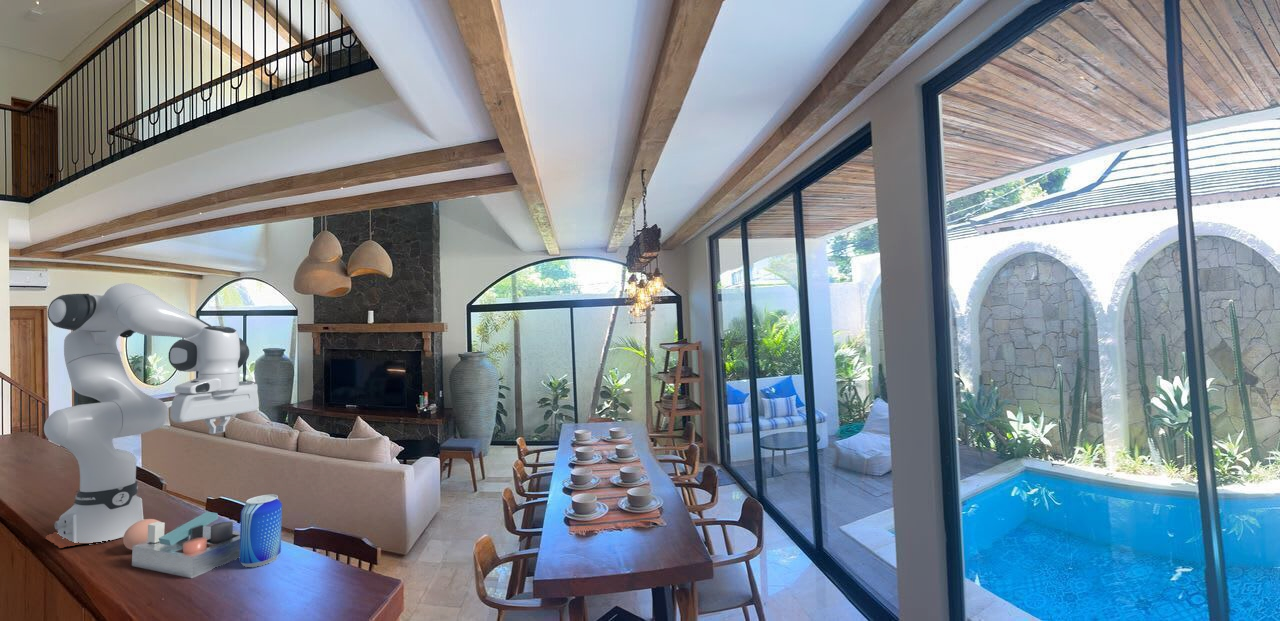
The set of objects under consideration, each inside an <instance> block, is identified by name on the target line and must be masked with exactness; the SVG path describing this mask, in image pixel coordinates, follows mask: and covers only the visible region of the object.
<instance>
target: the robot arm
mask: <svg viewBox="0 0 1280 621" xmlns="http://www.w3.org/2000/svg"><path fill="white" fill-rule="evenodd" d="M47 318H48V320H49V321H50V324H52V325H53V326H54V327H56V328H59V329H65V330H70V331H71V332H69V333H68V334H67V335H66V336H65V338H64V342H63V355H64V356H63V358H64V362H65V367H66V370H67V374H68V377H69V380H70V383H71V388H72V389H73V390H74V391H75V393H77V394H79V395H81V396H85V397H89V398H92V399H94V400H97V401H98V402H94V403H92V402H91V403H85V404H84V403H83V404H77V405H73V406H69V407H64V408H61V409H57V410H55V411H53V412H52V413H50V415H49V416H48V417H47V419H46V420H45V422H44V425H43V426H44V427H43V432H44V436H46V438H47V439H48V441H49V442H52V443H53V444H55V445H59V446H61V447H62V448H65V449H66V450H68V451H69V452H70V453H71V454H73V456H74V457H75V459H76V460H77V463H78V468H79V490H76V491H75V493H76V494H75V498H74V504H73V505H72V506H70V508H69V509H67V510H66V511H65V512H63V513H62V514H61V515H60V516H59V518H58V520H56V521H55V522H54V529H55V530H57V531H58V533H57V534H59V535H60V536H62V537H63V538H62V539H64V538H66V539H68V540H69V541H72V542H74V543H78V542H79V543H93V542H101V543H103V542H102V541H106V542H109V541H108V540H110V541H112V540H116V539H117V540H118V539H120V538H121V539H122V538H123V537H124V534H125V532H126V531H127V529H128V528H129V527H130V526H132V525H133V524H135V523H136V522H139V521H141V520H145V519H146V518H144V509H143V499H142V498H141V497H140V496H137V494H138V490H139V485H138V481H137V478H136V477H137V458H136V456H135V455H134V453H132V452H131V451H127V450H123V449H119V448H115V447H114V445H113V439H118V438H124V437H130V436H137V435H142V434H146V433H148V432H152V431H154V430H157V429H161V428H162V427H163V426H164V424H166V423H167V420H168V418H169V412H170V420H171V421H173V423H180V424H181V423H182V424H183V423H189V422H196V421H200V420H201V421H202V420H204V423H205V425H206V426H207V427H208V433H209V434H210V435H215V434H221V433H225V432H226V426H227V425H228V423H229V421H230V420H231V416H232V415H233V416H234V415H239V414H246V413H253V412H257V411H258V409H259V408H260V402H259V401H260V400H259V393H258V390H259V389H258V383H256V382H255V381H253V380H245V381H240V369H239V368H241V367H242V366H243V365H244V364H245V363H246V362H247V361H248V359H249V356H250V349H249V346H248V344H247V343H246V342H245V341H244V340H243V339H242V338H240V336H239V333H238V331H237V329H235V328H233V327H230V326H222V325H221V326H220V325H211V324H209V323H207V322H206V321H204V320H203V319H201V318H198V317H196V316H194V315H191V314H190V313H187V312H185V311H183V310H181V309H179V308H177V307H175V306H174V305H172V304H170V303H168V302H167V301H165V300H163V299H162V298H160V297H159V296H158V295H156V294H155V293H154V292H152V291H150V290H148V289H146V288H144V287H142V286H140V285H137V284H135V283H127V282H125V283H124V282H123V283H118V284H115V285H113V286H110V288H108V289H107V290H106V291H105V293H104V294H103V295H97V294H89V293H70V294H62V295H60V296H57V297H56V298H54V299H53V300H52V301H51V302H50V303H49V306H48V309H47ZM135 333H137V334H140V335H142V336H143V335H144V336H153V337H154V336H156V337H171V338H172V337H173V338H180V339H179V340H177V341H175V342H174V343H173V344H172V346H170V349H169V350H168V362H169V364H170V365H171V367H173V368H174V369H175V370H177V371H179V372H187V373H190V372H192V373H193V372H197V377H196V378H194V379H192V380H188V381H186V382H183V383H182V382H181V383H179V384H177V385H176V386H175V387H174V392H175V393H176V395H175V396H174V397H173V398H172V401H171V407H170V411H169V407H168V406H167V404H166V403H165V402H164V401H163V400H162V399H159V398H157V397H153V396H151V395H148V394H146V393H145V392H144V391H142V390H140V389H139V388H138V387H137V386H136V385H135V384H134V383H133V382H132V381H131V380H130V378H129V376H128V374H127V372H126V369H125V367H124V364H123V361H122V357H121V355H120V352H119V349H118V346H117V340H118V338H119V337H121V338H131V337H132V336H133V335H134V334H135ZM217 418H219V420H220V421H219V424H218V425H217V426H216V424H215V423H214V422H216V421H217V420H216V419H217Z"/></svg>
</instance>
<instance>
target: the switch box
mask: <svg viewBox="0 0 1280 621" xmlns="http://www.w3.org/2000/svg"><path fill="white" fill-rule="evenodd" d="M184 524H185V523H181V524H179V525H177V526H176V528H178V527H180V526H182V525H184ZM202 537H204V538H207V548H206V549H203V550H200V551H198V552H195V553H193V554H190V555H189V554H184V553H183V543H184V542H186V541H188V540H191V539H195V538H202ZM210 539H211V526H210V525H206V526H205V527H203V525H199V526H196V527H193V528H191V530H190V535H189V536H187V537H185V538H184V539H182V540H180V541H178V542H177V543H175V544H173V545H171V546H170V545H165V544H160V541H159V542H156V543H152V542H147V541H146V542H143V543H140V544H137V545H134V546H133V547H132V550H131V551H132V552H131V566H132V567H136V568H141V569H145V570H150V571H154V572H155V571H156V572H160V573H164V574H169V575H173V576H174V575H175V576H178V577H179V576H180V577H184V578H187V579H193V578H196V577H198V576H200V575H203V574H206V573H208V572H210V571H212V569H213V568H215V567H217V568H219V567H218V566H220V567H222V566H224V565H226V563H227V564H229V563H231V562H234V561H236V560H238V559H237V558H239V557H240V531H239V530H233V537H232V539H229V540H227V541H224V542H221V543H219V544H214V543H210ZM235 559H236V560H235ZM233 560H234V561H233ZM230 561H231V562H230ZM228 562H229V563H228ZM223 564H224V565H223ZM221 565H222V566H221ZM215 569H216V568H215ZM213 570H214V569H213Z"/></svg>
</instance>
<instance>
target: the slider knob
mask: <svg viewBox="0 0 1280 621" xmlns="http://www.w3.org/2000/svg"><path fill="white" fill-rule="evenodd" d="M165 525H166V523H165V522H162V521H160V522H154V523H151V524H148V536H147V542H152V543H156V542H159V538H160V537H162V536H164V535H165V528H166V527H165Z"/></svg>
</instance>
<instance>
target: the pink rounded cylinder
mask: <svg viewBox="0 0 1280 621" xmlns="http://www.w3.org/2000/svg"><path fill="white" fill-rule="evenodd" d="M206 548H207V538H204V537H202V538H195V539H191V540H188V541H186V542H184V543H183V553H184V554H189V555H190V554H193V553H195V552H198V551H200V550H203V549H206Z"/></svg>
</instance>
